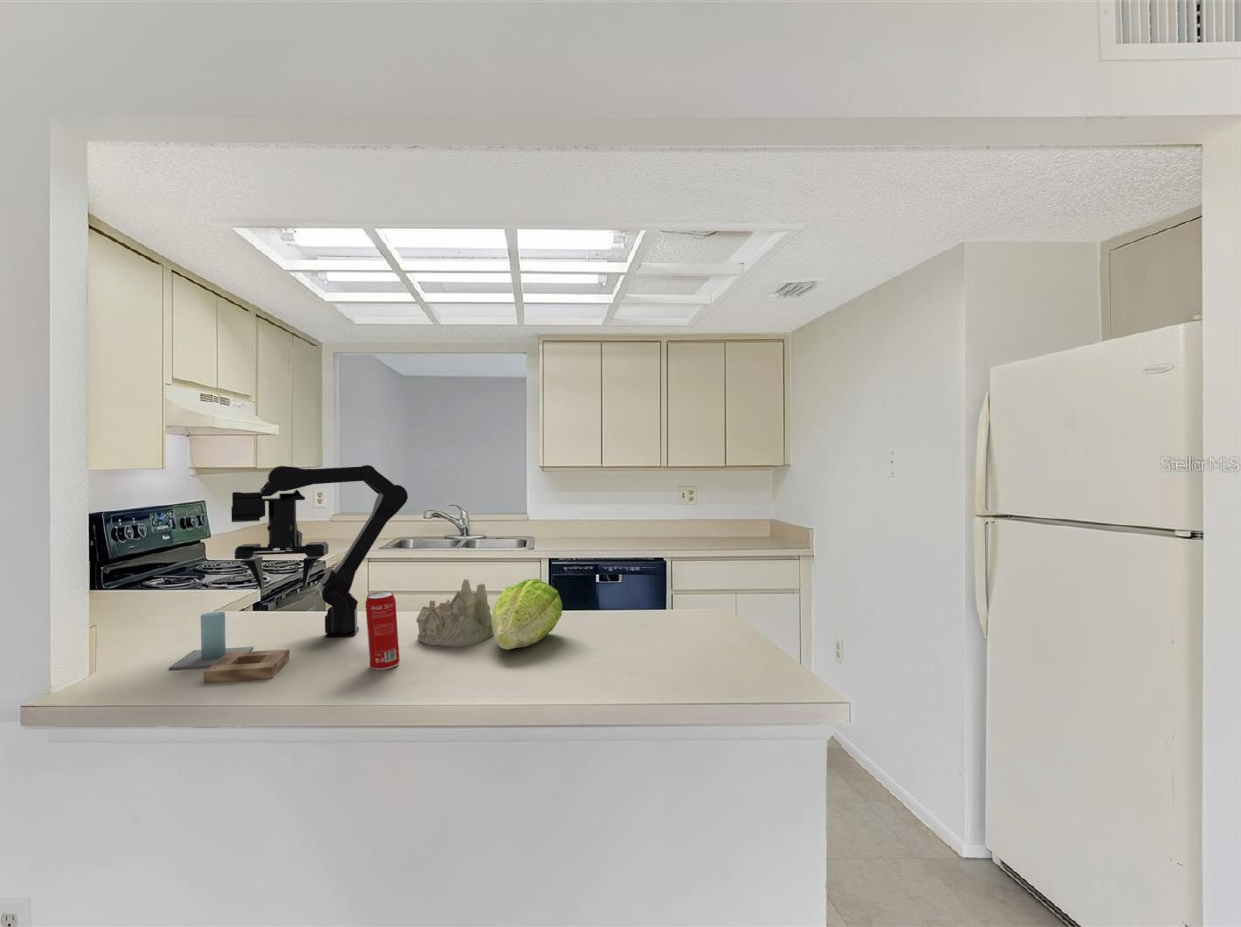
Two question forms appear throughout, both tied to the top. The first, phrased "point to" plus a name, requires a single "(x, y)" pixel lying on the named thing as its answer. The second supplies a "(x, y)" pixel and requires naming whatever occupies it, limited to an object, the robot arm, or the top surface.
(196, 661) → the mat
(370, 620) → the beverage can
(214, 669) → the pocket block
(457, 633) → the ceramic cottage
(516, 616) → the lettuce
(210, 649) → the peg
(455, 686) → the top surface
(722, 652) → the top surface
